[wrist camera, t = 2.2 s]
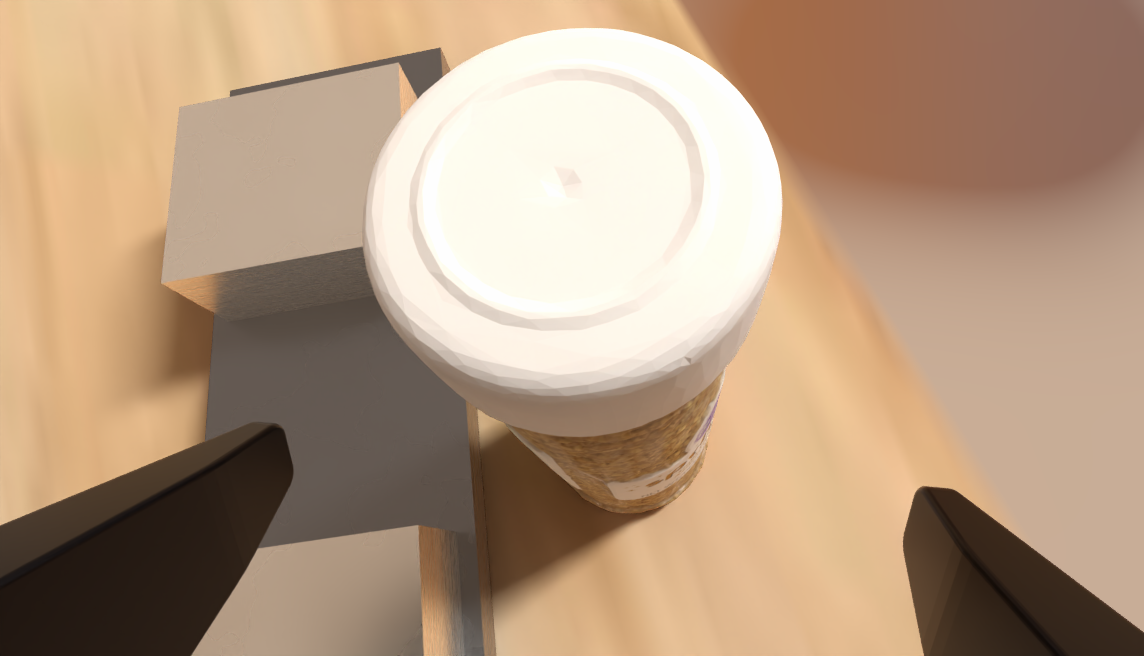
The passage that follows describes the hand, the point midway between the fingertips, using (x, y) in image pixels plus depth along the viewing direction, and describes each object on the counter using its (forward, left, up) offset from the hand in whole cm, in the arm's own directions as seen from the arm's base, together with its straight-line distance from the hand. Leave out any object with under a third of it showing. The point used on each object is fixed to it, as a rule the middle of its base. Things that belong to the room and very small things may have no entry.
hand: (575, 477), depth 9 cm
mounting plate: (-4, +8, -10) cm, 13 cm away
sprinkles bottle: (+2, +2, -10) cm, 10 cm away
